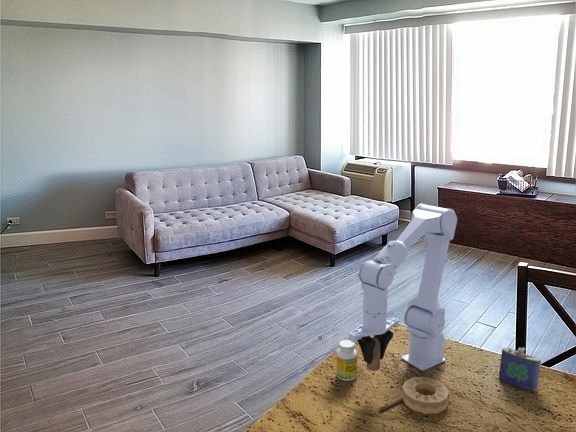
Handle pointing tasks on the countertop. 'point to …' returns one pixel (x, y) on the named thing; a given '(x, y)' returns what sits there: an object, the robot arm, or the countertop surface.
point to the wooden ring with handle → (423, 403)
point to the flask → (519, 369)
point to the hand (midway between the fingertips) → (373, 359)
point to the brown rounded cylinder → (375, 356)
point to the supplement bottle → (346, 361)
